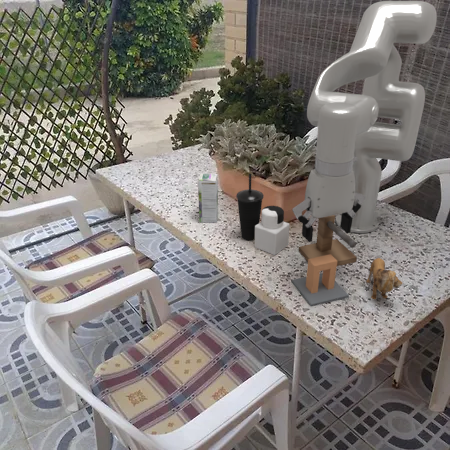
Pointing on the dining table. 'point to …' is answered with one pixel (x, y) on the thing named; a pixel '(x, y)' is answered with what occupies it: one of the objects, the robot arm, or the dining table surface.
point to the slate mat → (319, 292)
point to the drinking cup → (249, 211)
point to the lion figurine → (382, 278)
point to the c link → (313, 272)
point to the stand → (329, 243)
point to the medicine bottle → (272, 230)
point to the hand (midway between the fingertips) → (326, 234)
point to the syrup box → (208, 197)
